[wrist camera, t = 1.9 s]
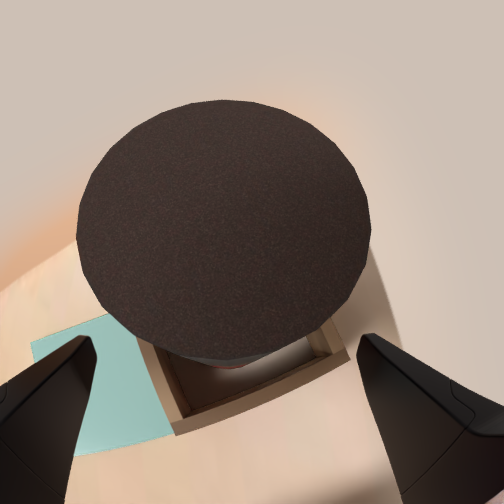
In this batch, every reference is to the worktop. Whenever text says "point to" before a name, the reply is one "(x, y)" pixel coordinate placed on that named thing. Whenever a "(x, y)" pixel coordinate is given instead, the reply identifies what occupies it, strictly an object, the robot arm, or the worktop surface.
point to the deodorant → (223, 231)
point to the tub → (185, 420)
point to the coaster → (113, 388)
